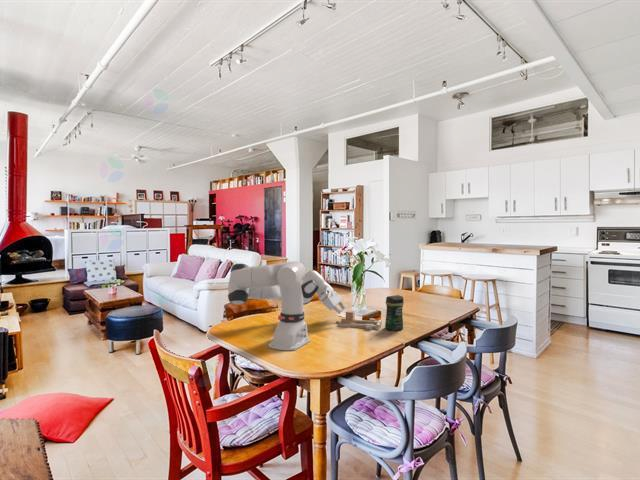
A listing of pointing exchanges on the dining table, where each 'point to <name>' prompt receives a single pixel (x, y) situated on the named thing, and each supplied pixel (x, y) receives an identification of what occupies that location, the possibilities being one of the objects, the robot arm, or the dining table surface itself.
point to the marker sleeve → (350, 316)
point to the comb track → (362, 324)
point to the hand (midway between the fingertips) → (342, 310)
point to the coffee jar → (394, 312)
